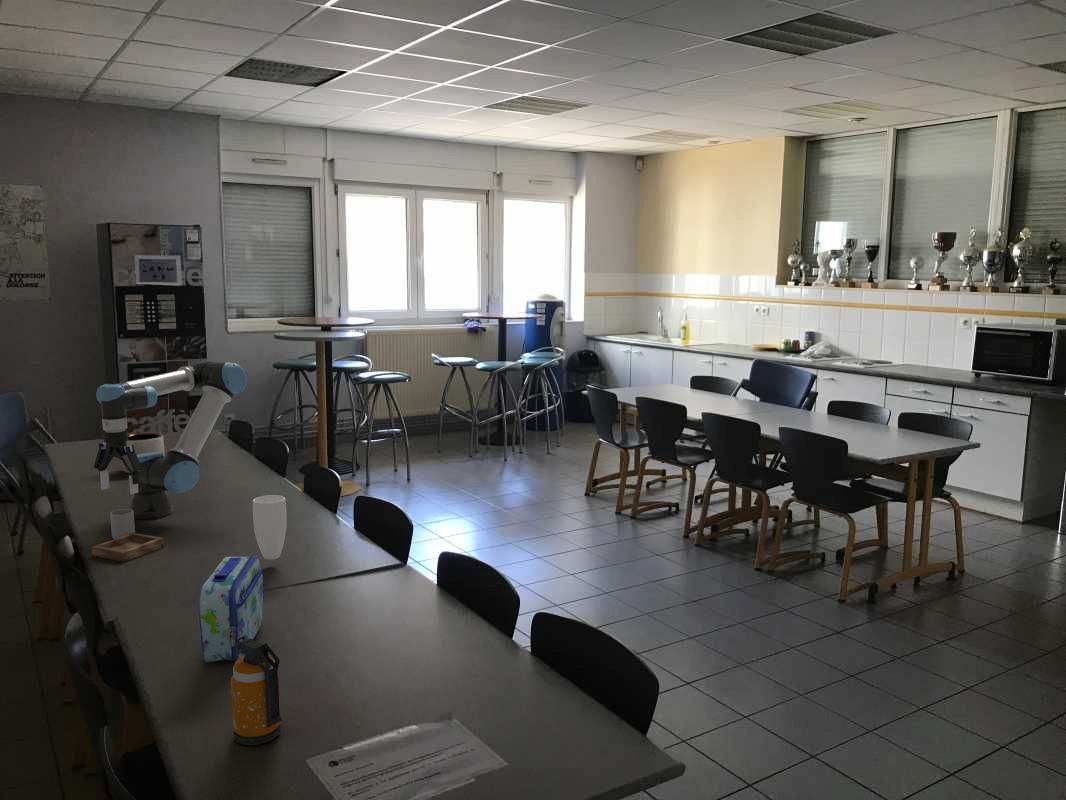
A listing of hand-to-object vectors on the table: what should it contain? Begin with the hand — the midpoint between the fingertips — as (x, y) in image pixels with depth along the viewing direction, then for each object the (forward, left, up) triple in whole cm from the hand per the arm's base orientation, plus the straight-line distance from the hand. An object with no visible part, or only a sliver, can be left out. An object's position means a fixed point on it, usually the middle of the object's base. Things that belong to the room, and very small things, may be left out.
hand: (119, 491), depth 291 cm
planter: (-72, -69, -16) cm, 101 cm away
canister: (+81, +130, -16) cm, 154 cm away
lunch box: (+51, +96, -16) cm, 110 cm away
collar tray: (+11, +15, -16) cm, 24 cm away
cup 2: (+3, +67, -16) cm, 69 cm away
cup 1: (0, 0, -16) cm, 16 cm away
